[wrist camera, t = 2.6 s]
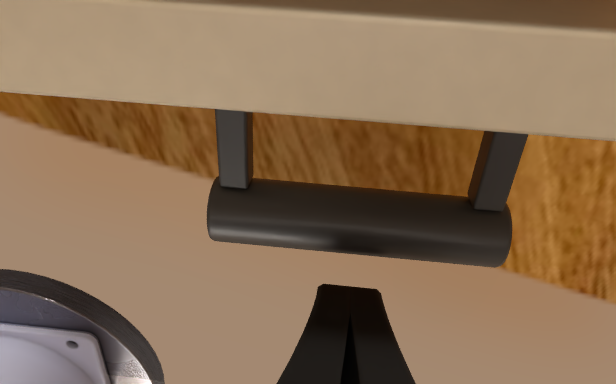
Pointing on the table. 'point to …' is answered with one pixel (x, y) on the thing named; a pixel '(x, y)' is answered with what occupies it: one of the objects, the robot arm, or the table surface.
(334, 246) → the drawer
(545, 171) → the table surface
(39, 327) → the robot arm
